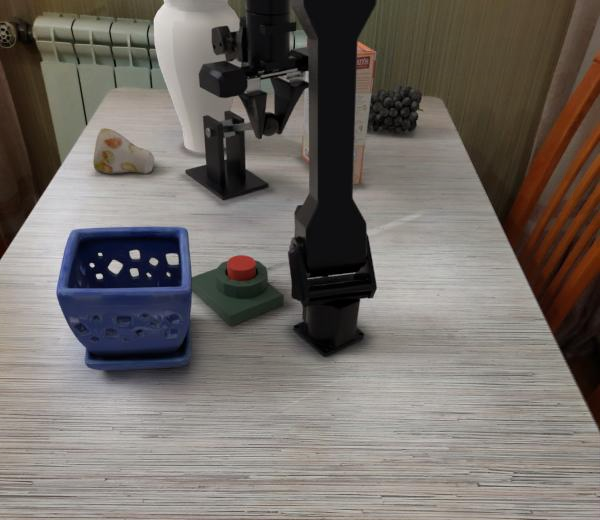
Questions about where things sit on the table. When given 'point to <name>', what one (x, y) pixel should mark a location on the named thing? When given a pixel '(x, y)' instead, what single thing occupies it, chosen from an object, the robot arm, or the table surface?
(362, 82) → the cracker box
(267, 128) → the lever
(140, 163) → the white tapered piece
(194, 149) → the vase
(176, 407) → the table surface
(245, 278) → the button
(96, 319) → the flower pot
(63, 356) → the table surface
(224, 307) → the control block
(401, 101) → the fruit
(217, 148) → the bracket
